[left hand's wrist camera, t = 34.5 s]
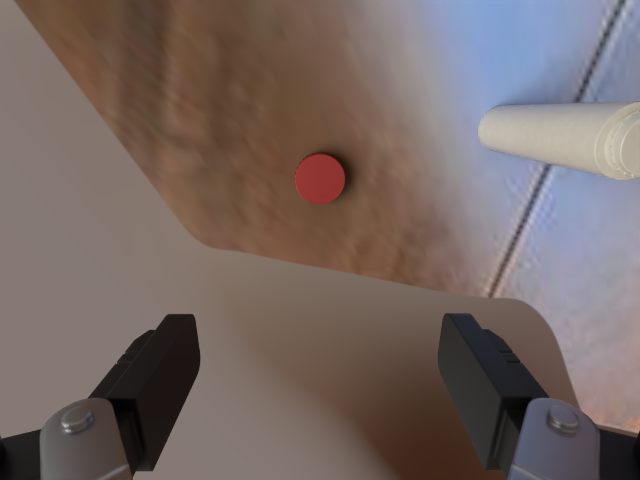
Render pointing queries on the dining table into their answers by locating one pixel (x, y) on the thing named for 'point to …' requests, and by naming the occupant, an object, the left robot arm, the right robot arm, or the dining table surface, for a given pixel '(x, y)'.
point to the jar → (569, 135)
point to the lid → (320, 178)
